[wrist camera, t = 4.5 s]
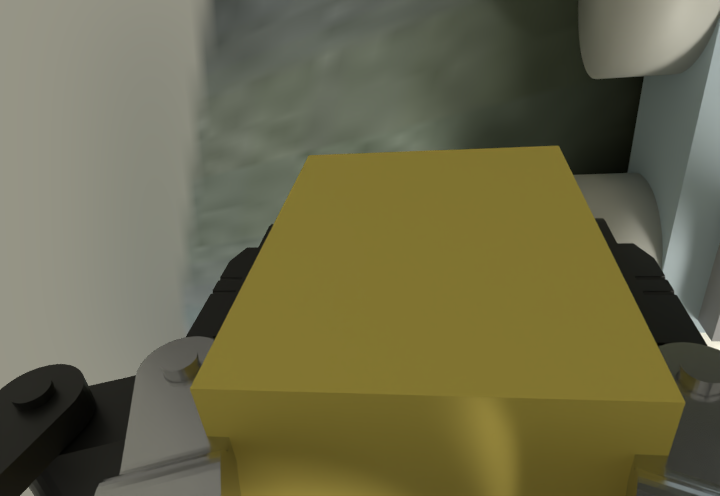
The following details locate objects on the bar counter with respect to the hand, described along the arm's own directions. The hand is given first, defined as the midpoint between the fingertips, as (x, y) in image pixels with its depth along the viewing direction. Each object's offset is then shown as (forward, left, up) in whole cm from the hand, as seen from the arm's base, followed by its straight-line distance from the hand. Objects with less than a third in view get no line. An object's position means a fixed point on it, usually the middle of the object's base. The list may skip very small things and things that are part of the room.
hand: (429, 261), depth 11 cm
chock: (+1, 0, -1) cm, 1 cm away
